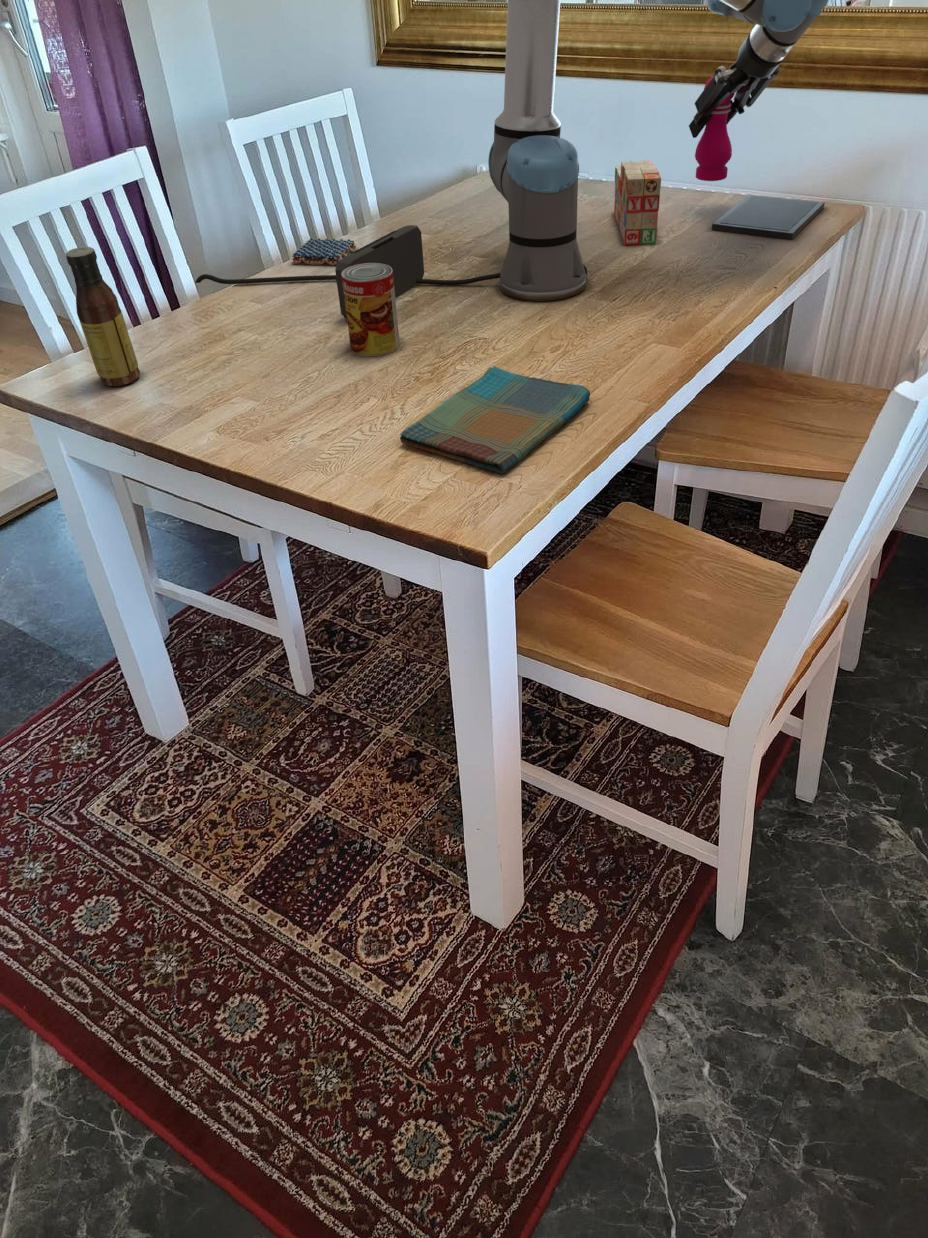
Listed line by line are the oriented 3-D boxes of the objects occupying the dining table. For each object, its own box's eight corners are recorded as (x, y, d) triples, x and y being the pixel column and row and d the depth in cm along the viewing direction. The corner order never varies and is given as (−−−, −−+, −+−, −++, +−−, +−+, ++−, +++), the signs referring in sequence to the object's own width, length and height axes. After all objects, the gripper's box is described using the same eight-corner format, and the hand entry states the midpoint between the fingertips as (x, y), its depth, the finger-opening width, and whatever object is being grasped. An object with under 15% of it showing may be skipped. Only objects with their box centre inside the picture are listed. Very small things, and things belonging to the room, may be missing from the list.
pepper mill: (691, 181, 196) (700, 69, 184) (695, 171, 202) (704, 62, 189) (727, 182, 195) (739, 69, 182) (730, 172, 200) (742, 62, 188)
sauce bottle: (125, 367, 154) (89, 239, 142) (149, 377, 151) (114, 246, 138) (90, 383, 150) (49, 252, 138) (114, 392, 147) (74, 260, 135)
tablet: (791, 239, 186) (792, 232, 185) (711, 229, 193) (712, 223, 192) (823, 208, 200) (825, 201, 200) (748, 199, 207) (748, 193, 207)
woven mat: (290, 265, 189) (288, 254, 188) (309, 247, 197) (308, 237, 196) (340, 266, 187) (339, 256, 185) (358, 248, 195) (357, 238, 193)
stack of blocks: (613, 212, 205) (615, 149, 197) (643, 211, 205) (647, 148, 197) (624, 245, 188) (627, 178, 181) (656, 244, 188) (661, 176, 180)
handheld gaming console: (413, 277, 180) (408, 221, 174) (425, 279, 179) (421, 223, 173) (339, 321, 165) (331, 261, 159) (352, 323, 164) (345, 263, 158)
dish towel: (594, 403, 136) (595, 386, 135) (506, 477, 121) (505, 459, 120) (491, 378, 144) (491, 362, 143) (396, 445, 129) (395, 428, 128)
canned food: (345, 342, 158) (335, 267, 150) (391, 333, 160) (383, 259, 152) (358, 360, 152) (348, 283, 144) (406, 350, 154) (399, 274, 146)
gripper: (732, 70, 171) (672, 152, 193) (815, 58, 176) (748, 139, 198) (717, 32, 171) (659, 118, 194) (801, 21, 176) (735, 106, 199)
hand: (704, 129), depth 196 cm, fingers closed on pepper mill, 5 cm apart
